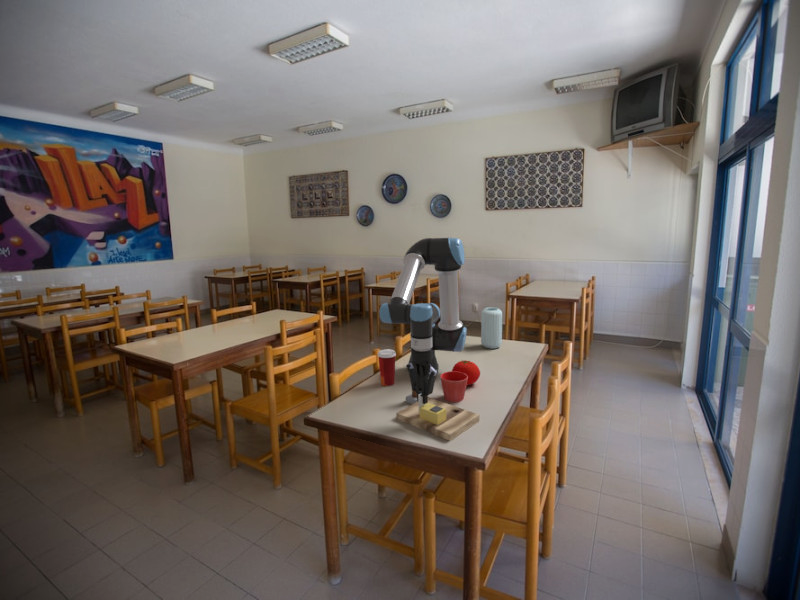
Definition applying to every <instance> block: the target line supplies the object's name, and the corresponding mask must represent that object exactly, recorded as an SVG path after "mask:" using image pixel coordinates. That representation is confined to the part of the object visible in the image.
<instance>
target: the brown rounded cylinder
mask: <svg viewBox="0 0 800 600" xmlns="http://www.w3.org/2000/svg"><path fill="white" fill-rule="evenodd" d="M415 387H416V386H415ZM411 394H412V397H414V398H417V393H416V392H415V391H413V390H412V389H411Z"/></svg>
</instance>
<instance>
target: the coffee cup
mask: <svg viewBox="0 0 800 600" xmlns="http://www.w3.org/2000/svg"><path fill="white" fill-rule="evenodd" d="M376 355H377V357H378V366H379V367H378V368H379V377H380V384H381V386H383V387H391V386H393V385H395V378H396V377H395V376H396V374H395V373H396V356H397V353H396V351H395V350H393V349H389V348H387V349H381V350H379V351H378V353H377V354H376Z"/></svg>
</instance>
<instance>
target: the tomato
mask: <svg viewBox="0 0 800 600" xmlns="http://www.w3.org/2000/svg"><path fill="white" fill-rule="evenodd" d="M451 369H452V370H451V371H457V372H462V373H464V374H466V375H467V376H468V380H467V385H466V386H470V385H473V384H475V383H476V382H477V381H478V380H479V378H480V376H481V370H480V368H479V366H478V364H476V362H475V363H474V362H473V361H471V360H463V359H461V361H458V362H456V363H455V364H454V365H453V367H452V368H451Z"/></svg>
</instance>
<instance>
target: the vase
mask: <svg viewBox="0 0 800 600" xmlns="http://www.w3.org/2000/svg"><path fill="white" fill-rule="evenodd" d="M480 319H481V323H480V324H481V325H480V326H481V327H480V328H481V330H480V331H481V332H480V342H481V344H482V346H483V347H484V348H487V349H489V350H490V349H491V350H492V349H498V348H499V347H501V346H502V344H503V341H502V340H503V339H502V338H503V311H502V310H501V309H500V308H499V307H491V306H490V307H485V308H483V309H482V310H481V316H480Z"/></svg>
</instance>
